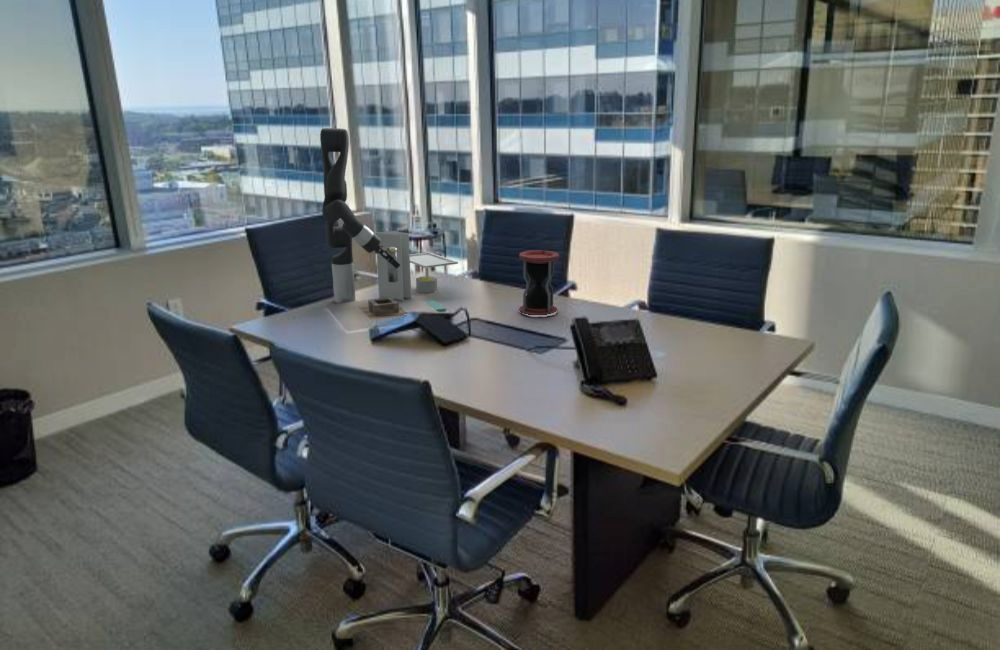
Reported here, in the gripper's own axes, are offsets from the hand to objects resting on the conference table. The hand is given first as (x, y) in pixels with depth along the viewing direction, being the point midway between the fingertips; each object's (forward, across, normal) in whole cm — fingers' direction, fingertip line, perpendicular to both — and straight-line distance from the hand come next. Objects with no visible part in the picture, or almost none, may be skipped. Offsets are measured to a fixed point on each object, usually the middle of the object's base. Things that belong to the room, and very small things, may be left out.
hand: (396, 265), depth 283 cm
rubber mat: (+23, 0, +5) cm, 24 cm away
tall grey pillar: (+17, +20, +11) cm, 29 cm away
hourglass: (+52, -25, -23) cm, 62 cm away
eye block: (+10, 0, +19) cm, 21 cm away
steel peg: (+3, 0, +6) cm, 7 cm away
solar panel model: (+31, +30, -2) cm, 43 cm away
